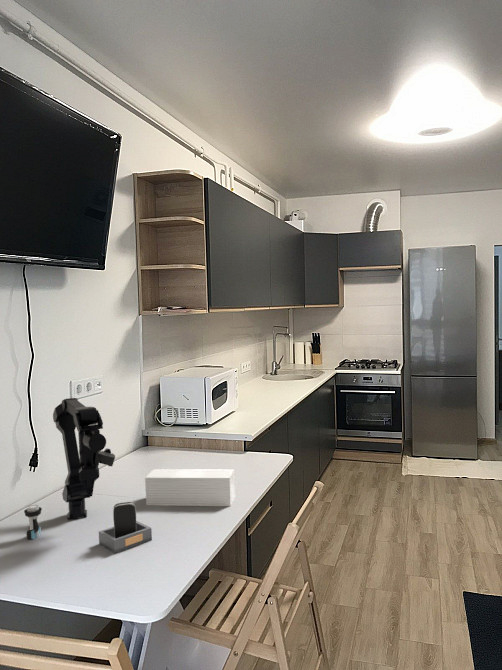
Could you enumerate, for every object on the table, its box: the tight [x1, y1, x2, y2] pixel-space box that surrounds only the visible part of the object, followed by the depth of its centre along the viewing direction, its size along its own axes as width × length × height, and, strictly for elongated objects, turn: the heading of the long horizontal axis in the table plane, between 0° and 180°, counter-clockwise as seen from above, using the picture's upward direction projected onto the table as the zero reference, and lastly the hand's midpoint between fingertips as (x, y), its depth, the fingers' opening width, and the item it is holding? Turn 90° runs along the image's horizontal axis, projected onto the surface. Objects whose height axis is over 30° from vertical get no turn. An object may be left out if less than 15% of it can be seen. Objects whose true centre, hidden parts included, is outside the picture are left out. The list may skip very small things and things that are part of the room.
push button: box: [23, 504, 43, 540], centre depth 187 cm, size 7×5×10 cm
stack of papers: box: [144, 468, 236, 507], centre depth 215 cm, size 32×11×11 cm, turn 83°
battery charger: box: [112, 501, 137, 538], centre depth 180 cm, size 7×4×11 cm, turn 106°
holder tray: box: [98, 520, 153, 554], centre depth 179 cm, size 10×13×4 cm
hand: (90, 491), depth 190 cm, fingers open, 9 cm apart
